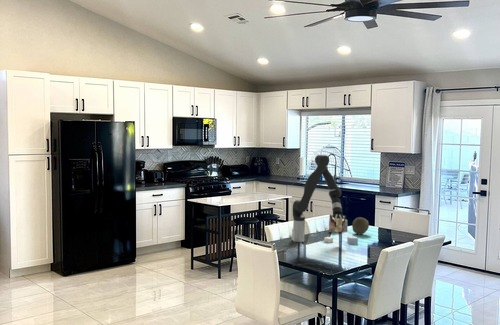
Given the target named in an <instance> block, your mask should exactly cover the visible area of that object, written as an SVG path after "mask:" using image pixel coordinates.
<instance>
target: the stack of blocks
mask: <svg viewBox="0 0 500 325" xmlns="http://www.w3.org/2000/svg"><path fill="white" fill-rule="evenodd" d="M328 218H329V217H328ZM332 218H333V217H332ZM333 220H335V219H334V218H333ZM342 220H343V221H344V218H342ZM348 221H349V220H348V219H346V220H345V223H343V227H342V232H344V231H347V230H348V227H349V226H348ZM328 232H329V233H334V234H335V233H337V232H336V231H335V226H334V223H332V222H331V220H330V218H329V221H328Z"/></svg>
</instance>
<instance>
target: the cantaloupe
mask: <svg viewBox="0 0 500 325" xmlns="http://www.w3.org/2000/svg"><path fill="white" fill-rule="evenodd" d="M351 227H352V231H353V233H355V234H357V235H363V234H365V233H366V232H367V231H369V227H370V224H369V220H367V219H366V218H365V217H361V216H359V217H356V218H355V219H353V221H352V224H351Z"/></svg>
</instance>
